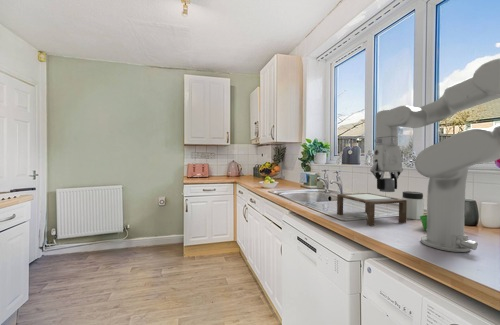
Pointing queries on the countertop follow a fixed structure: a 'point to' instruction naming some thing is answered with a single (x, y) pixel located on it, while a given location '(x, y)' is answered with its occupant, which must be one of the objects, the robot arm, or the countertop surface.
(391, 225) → the countertop surface
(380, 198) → the trapdoor
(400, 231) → the countertop surface
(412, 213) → the jar
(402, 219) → the trapdoor frame
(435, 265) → the countertop surface
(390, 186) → the metal canister
